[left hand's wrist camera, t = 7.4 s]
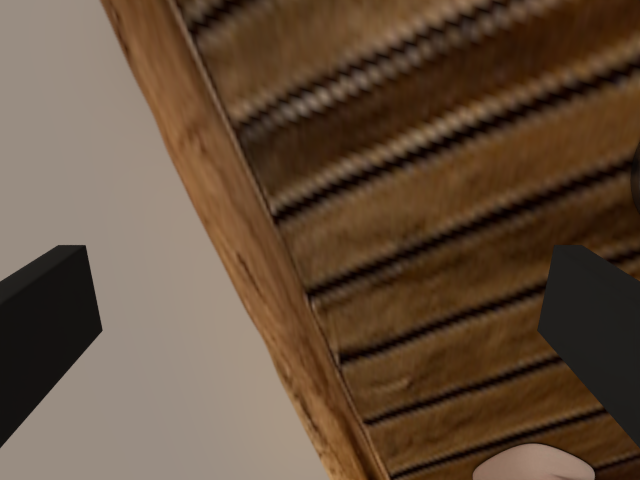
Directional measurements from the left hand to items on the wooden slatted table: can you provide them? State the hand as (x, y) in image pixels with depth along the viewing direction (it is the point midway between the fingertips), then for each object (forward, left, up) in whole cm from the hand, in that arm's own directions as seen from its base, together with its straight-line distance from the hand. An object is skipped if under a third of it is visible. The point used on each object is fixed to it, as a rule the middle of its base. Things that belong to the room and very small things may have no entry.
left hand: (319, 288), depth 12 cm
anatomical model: (-5, +46, -27) cm, 53 cm away
